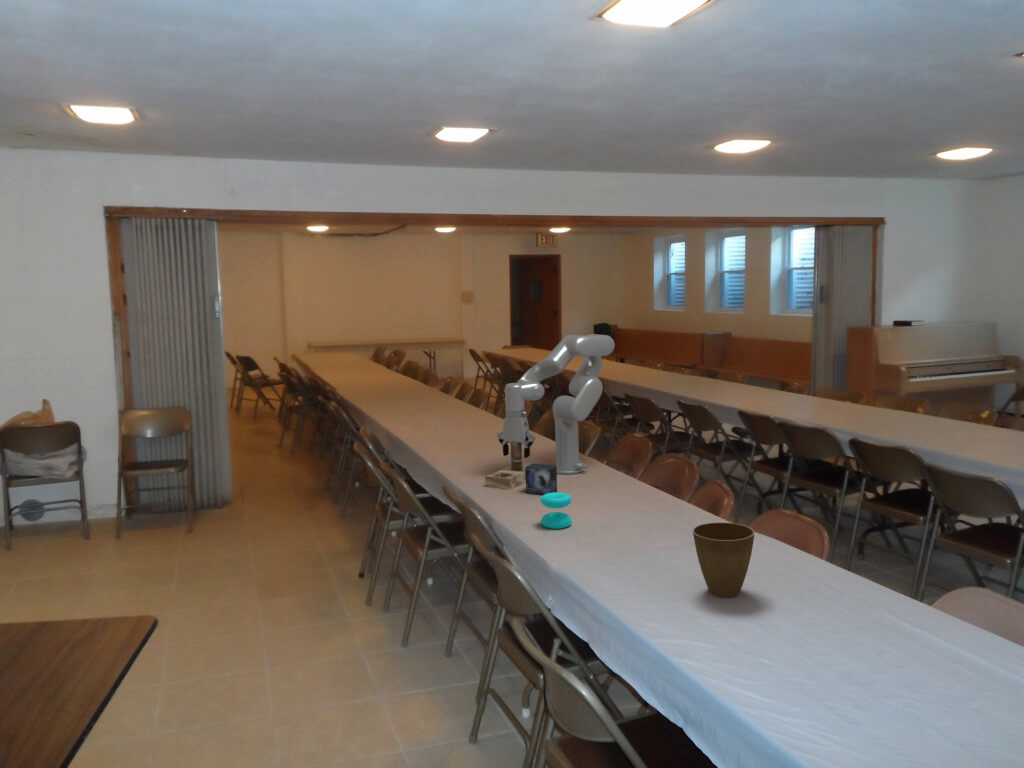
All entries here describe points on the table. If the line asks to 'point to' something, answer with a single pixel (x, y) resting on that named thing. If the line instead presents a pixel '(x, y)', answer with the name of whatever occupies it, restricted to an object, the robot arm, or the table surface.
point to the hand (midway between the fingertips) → (516, 456)
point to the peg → (516, 456)
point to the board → (506, 478)
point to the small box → (541, 479)
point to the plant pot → (724, 555)
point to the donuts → (556, 518)
